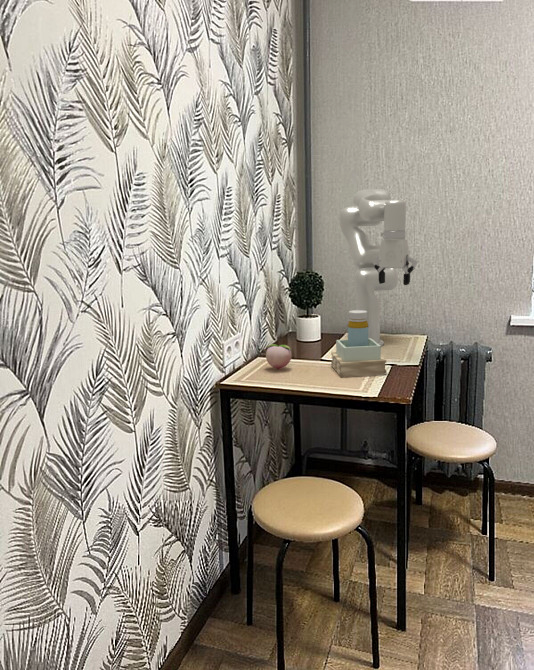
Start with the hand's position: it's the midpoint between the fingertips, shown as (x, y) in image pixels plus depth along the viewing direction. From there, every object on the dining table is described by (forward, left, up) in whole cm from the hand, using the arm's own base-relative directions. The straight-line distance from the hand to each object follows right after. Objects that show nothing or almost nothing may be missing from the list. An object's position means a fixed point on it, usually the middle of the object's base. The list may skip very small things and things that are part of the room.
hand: (394, 283), depth 222 cm
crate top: (+11, -16, -23) cm, 30 cm away
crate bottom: (+11, -16, -28) cm, 34 cm away
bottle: (+11, -16, -23) cm, 30 cm away
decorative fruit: (+4, -43, -28) cm, 52 cm away
